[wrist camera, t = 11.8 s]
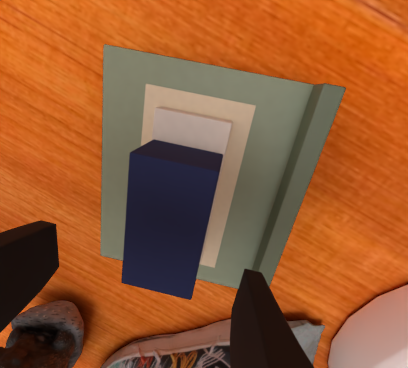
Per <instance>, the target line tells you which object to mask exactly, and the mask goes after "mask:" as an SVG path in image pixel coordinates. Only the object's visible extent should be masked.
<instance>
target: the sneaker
mask: <svg viewBox="0 0 408 368" xmlns="http://www.w3.org/2000/svg"><path fill="white" fill-rule="evenodd" d="M230 328H231V319H228V320H224V321H219V322H215V323H212V324H210V325H208V326H205V327H203V328H199V329H195V330H191V331H186V332H182V333H178V334H169V335H157V336H152V337H147V338H142V339H139V340H136V341H134V342H132V343H130V344H128V345H127V346H125V347H123V348H121V349H119V350H118V351H117V352H116V353H114V354H113V355H112V356H110V357H109V358H108V359H107V360H106V361H105V362H104V364H103V365H102V366H101V367H100V368H230Z"/></svg>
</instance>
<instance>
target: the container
mask: <svg viewBox="0 0 408 368" xmlns="http://www.w3.org/2000/svg"><path fill="white" fill-rule="evenodd" d="M328 366H329V368H408V285H405V286H403V287H400V288H398V289H395V290H393V291H390V292H388V293H385V294H383V295H380V296H378V297H376V298H375V299H374V300H372V301H371V302H370V303H368V304H367V305H365V306H364V307H363V308H361V309H360V310H359V311H357V312H356V313H354V314H353V315H352V316H350V317H349V318H348V319H347V321H346V322H345V323H344V325H343V326H342V328H341V329H340V330H339V332H338V333H337V335H336V336H335V337H334V339H333V340H332V343H331V349H330V354H329V359H328Z"/></svg>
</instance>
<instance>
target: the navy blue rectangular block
mask: <svg viewBox="0 0 408 368" xmlns="http://www.w3.org/2000/svg"><path fill="white" fill-rule="evenodd" d="M231 128H232V121H231V120H226V119H222V118H217V117H212V116H207V115H202V114H197V113H192V112H188V111H183V110H178V109H173V108H168V107H163V106H162V107H156V108H155V111H154V121H153V132H152V141H150V142H148V143H146V144H144V145H142V146H141V147H139V148H137V149H135V150H133V151H131V152H130V155H129V171H128V187H127V203H126V219H125V235H124V252H123V268H122V283H125V284H129V285H133V286H137V287H141V288H145V289H149V290H153V291H157V292H161V293H165V294H169V295H173V296H177V297H181V298H185V299H189V300H191V298H192V294H193V290H194V285H195V281H196V276H197V272H198V267H199V264H201V261H202V256H203V252H204V247H205V243H206V239H207V234H208V230H209V225H210V221H211V216H212V212H213V207H214V203H215V199H216V194H217V190H218V185H219V181H220V176H221V172H222V168H223V163H224V159H225V154H226V150H227V145H228V141H229V136H230V132H231Z"/></svg>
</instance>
